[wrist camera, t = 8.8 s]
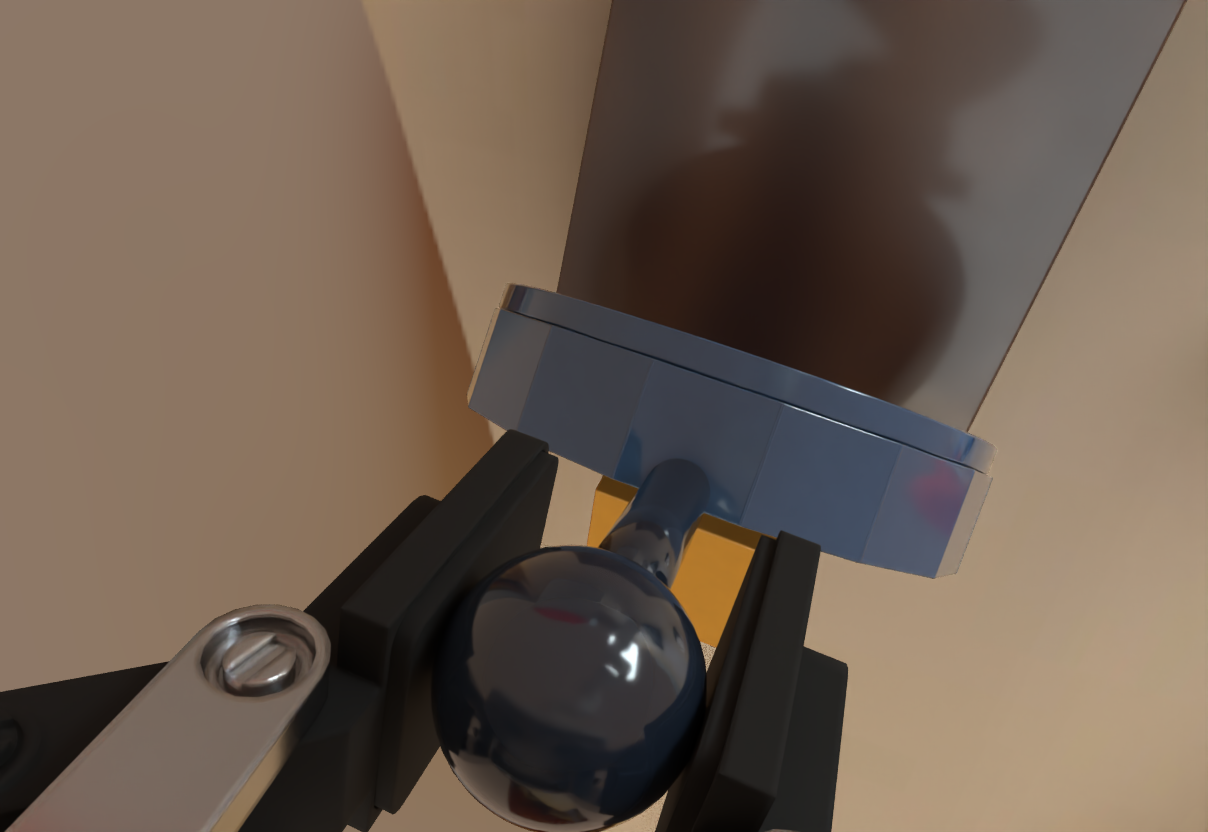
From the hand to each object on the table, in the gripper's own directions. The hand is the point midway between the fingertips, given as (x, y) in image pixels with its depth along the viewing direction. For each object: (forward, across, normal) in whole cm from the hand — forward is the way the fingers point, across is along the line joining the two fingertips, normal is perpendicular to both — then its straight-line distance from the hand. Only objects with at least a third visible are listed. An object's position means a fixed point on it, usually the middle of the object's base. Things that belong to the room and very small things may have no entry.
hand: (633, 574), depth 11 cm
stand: (+19, 0, -3) cm, 19 cm away
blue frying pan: (+6, 0, -1) cm, 6 cm away
